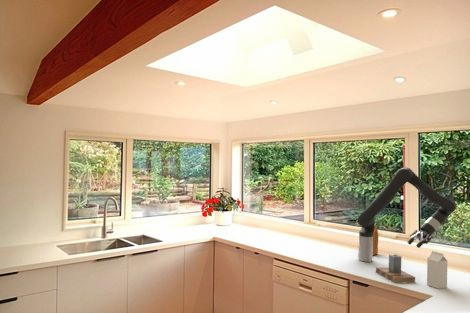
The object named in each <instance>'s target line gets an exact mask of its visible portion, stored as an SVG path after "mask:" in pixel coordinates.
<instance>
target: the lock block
mask: <svg viewBox="0 0 470 313" xmlns="http://www.w3.org/2000/svg"><path fill="white" fill-rule="evenodd" d="M388 267H389V271H390V272H392V273H401V270H402V256H401V255H399V254H396V253H391V254H390V253H389V254H388Z"/></svg>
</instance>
